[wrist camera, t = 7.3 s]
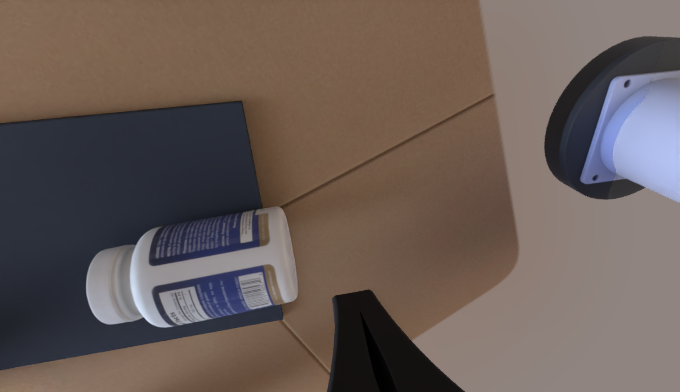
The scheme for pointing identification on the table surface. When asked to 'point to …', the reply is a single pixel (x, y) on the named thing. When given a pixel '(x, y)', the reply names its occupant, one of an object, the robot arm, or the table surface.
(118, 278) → the pill bottle
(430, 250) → the table surface
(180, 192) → the mat
